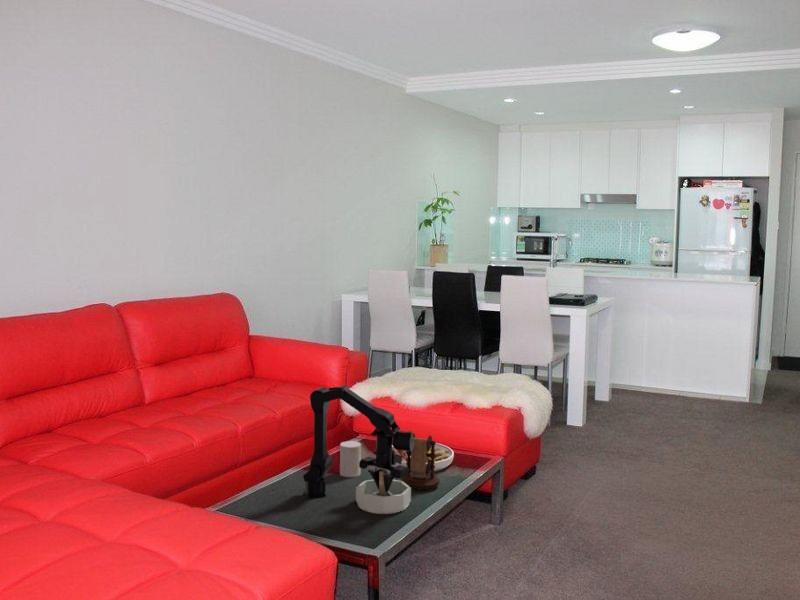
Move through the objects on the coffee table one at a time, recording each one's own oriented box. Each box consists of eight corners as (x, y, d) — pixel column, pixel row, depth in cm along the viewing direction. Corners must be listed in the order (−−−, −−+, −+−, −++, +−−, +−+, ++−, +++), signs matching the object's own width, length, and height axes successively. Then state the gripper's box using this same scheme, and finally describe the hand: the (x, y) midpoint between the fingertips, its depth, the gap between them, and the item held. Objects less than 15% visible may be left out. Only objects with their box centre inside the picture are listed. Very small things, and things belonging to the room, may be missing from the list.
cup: (351, 478, 293) (351, 448, 292) (335, 474, 298) (336, 444, 297) (364, 473, 300) (365, 443, 298) (349, 468, 305) (349, 439, 303)
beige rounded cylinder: (380, 498, 266) (381, 473, 265) (377, 495, 268) (378, 470, 267) (388, 497, 267) (389, 472, 266) (385, 494, 270) (385, 469, 269)
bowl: (428, 448, 335) (428, 431, 334) (467, 468, 309) (468, 449, 308) (368, 458, 319) (368, 440, 319) (405, 480, 294) (405, 460, 293)
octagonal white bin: (368, 517, 256) (369, 500, 255) (350, 498, 273) (350, 482, 272) (417, 509, 263) (418, 493, 263) (396, 491, 280) (396, 476, 279)
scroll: (395, 489, 283) (396, 437, 281) (408, 476, 297) (409, 427, 294) (432, 494, 278) (434, 442, 276) (444, 482, 292) (445, 431, 290)
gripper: (419, 448, 266) (417, 490, 268) (378, 437, 278) (377, 478, 280) (399, 455, 258) (398, 499, 259) (358, 444, 269) (357, 486, 271)
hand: (383, 490), depth 268 cm, fingers closed on beige rounded cylinder, 3 cm apart
